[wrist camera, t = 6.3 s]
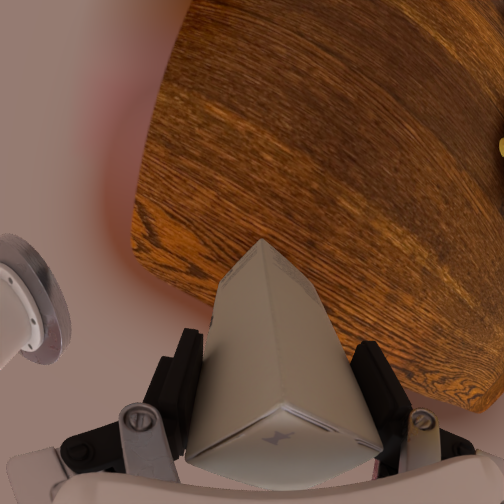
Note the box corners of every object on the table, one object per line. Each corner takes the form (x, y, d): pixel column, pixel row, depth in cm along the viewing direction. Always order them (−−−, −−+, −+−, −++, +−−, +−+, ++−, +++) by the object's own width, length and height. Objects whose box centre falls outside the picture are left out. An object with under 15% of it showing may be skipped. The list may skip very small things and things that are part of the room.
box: (216, 281, 18) (168, 459, 6) (262, 234, 17) (278, 400, 5) (273, 327, 19) (289, 499, 7) (319, 286, 18) (391, 453, 6)
